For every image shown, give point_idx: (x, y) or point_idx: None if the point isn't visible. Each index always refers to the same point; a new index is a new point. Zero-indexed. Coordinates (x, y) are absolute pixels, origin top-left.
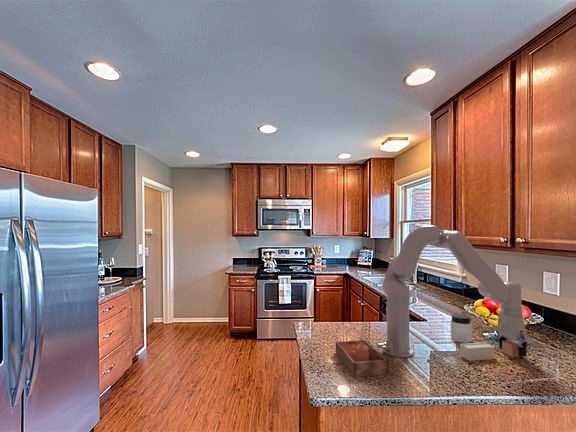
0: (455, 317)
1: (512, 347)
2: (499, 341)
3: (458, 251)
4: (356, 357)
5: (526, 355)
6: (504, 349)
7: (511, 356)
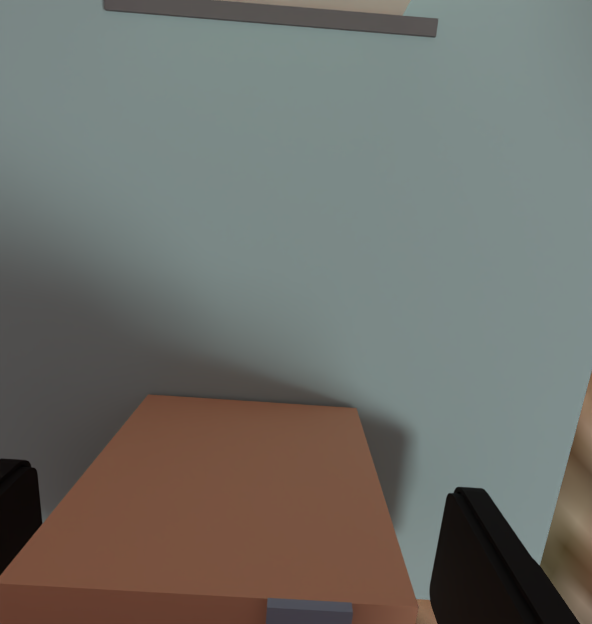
0: None
1: (47, 534)
2: (550, 594)
3: None
4: None
5: None
6: (314, 446)
7: (163, 398)
